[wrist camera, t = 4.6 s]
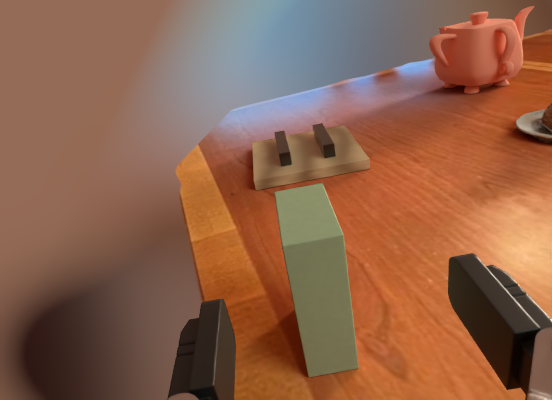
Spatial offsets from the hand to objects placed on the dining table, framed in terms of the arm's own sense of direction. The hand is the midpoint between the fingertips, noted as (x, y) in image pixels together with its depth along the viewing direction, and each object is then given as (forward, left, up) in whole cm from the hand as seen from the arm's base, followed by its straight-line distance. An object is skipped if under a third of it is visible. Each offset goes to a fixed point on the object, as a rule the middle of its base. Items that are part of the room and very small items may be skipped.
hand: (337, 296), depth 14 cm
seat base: (-5, +47, -14) cm, 49 cm away
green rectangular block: (-2, +11, -14) cm, 18 cm away
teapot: (+29, +76, -14) cm, 82 cm away
